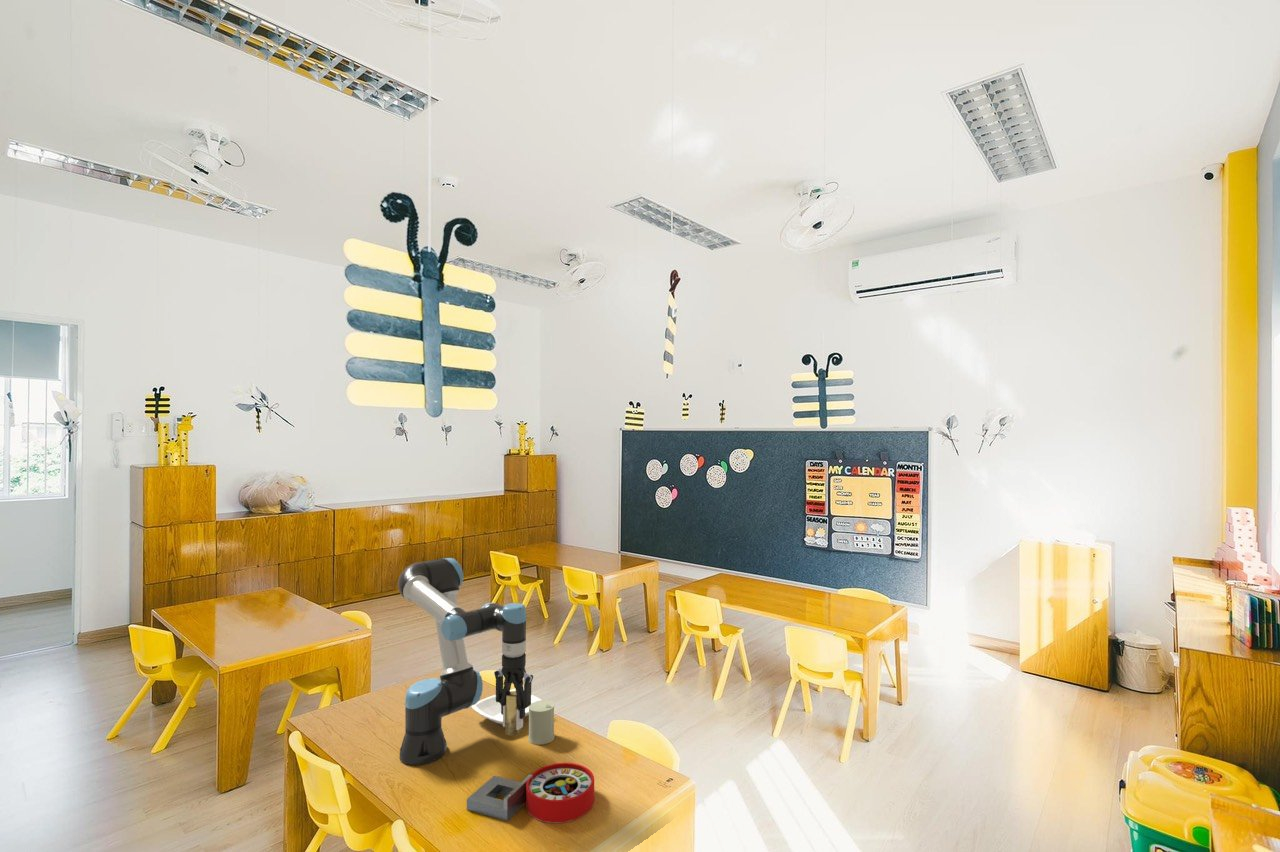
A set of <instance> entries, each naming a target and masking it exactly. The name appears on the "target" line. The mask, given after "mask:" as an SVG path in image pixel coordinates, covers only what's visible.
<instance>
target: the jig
mask: <svg viewBox="0 0 1280 852" xmlns="http://www.w3.org/2000/svg"><path fill="white" fill-rule="evenodd" d="M531 777H532V780H533V775H531V774H528V775H527V776H526V777H525V778H524V779H523V780H522V781H517V780H513V779H509V778H506V777H501V776H497V775H493V776H492V777H491V778H490V779H488V780H487V781H486V782H485V783H484V784H482V785H481V786H480V787H479V788H478V789H477V790H476V791H474V792H473V793H472V794H471V795H470V796H468V798H466V811H469V812H473V813H477V814H480V815H484V816H487V817H490V818H495V819H496V820H497V819H498V820H500V821H505V822H508V821H509V820H511V818H512V817H513V816H514V815H515V814H516V813H517V812H518V811H519V810H520V809H521V808H522V807H523V806H524V805H526V782H527V780H528V779H530V778H531ZM497 796H502V797H503V799H500V798H496V797H497Z"/></svg>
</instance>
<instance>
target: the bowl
mask: <svg viewBox="0 0 1280 852" xmlns="http://www.w3.org/2000/svg"><path fill="white" fill-rule="evenodd" d="M511 691H516V689H515V688H513V689H512V688H511V689H510V692H511ZM541 700H542V699H541V698H539V697H537V696H535V695H534V694H532V693H531V703H533V702H536V701H541ZM470 708H472V709H473V711H475V712H476V713H477V714H479V715H480V716H482V717H484V718H486V719H488V720H489V721H492V722H493V723H497V724H499V725H502V726H503V715H502V714H501V704H500V703H499V702H496V694H493V695H491V696H488V697H486V698H482V699H481V700H479V701H478V702H477V703H476V704H475V705H472V706H470ZM527 716H529V706H528V707H527V708H525V717H527Z"/></svg>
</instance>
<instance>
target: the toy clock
mask: <svg viewBox="0 0 1280 852" xmlns="http://www.w3.org/2000/svg"><path fill="white" fill-rule="evenodd" d="M530 775H533V780H532V777H531V778H530V779H528V780H527V782H526V803H525V808H526V811H527V813H528V814H529V816H531V817H532V818H534V819H535V820H538V821H540V822H545V823H550V824H561V823H567V822H571V821H574V820H577V819H579V818H581V817H583V816H584V815H586V814H587V813H588V812H589V811H591V810H592V808H593V806H594V803H595V776H594V773H593V772H592V771H591V770H590V769H589V768H588V767H586V766H584V765H582V764H579V763H575V762H557V763H551V764H547V765H545V766H542V767H539V768H538V769H536V770H534V771H533V772H532V773H531V774H530ZM591 807H592V808H591ZM585 813H586V814H585Z"/></svg>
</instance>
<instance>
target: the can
mask: <svg viewBox="0 0 1280 852" xmlns="http://www.w3.org/2000/svg"><path fill="white" fill-rule="evenodd" d="M554 740H555V704H554V702H553V701H551V700H546V699H545V700H544V699H541V701H536V702H533V703H531V705H530V706H529V715H528V742H530V743H531V744H532V745H537V746H539V745H540V746H542V745H547V744H549V743H551V742H552V741H554Z"/></svg>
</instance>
